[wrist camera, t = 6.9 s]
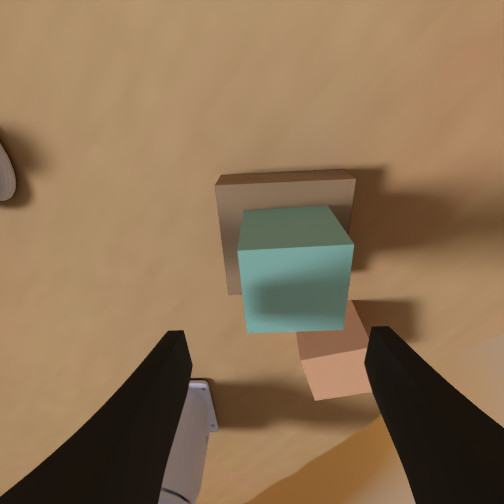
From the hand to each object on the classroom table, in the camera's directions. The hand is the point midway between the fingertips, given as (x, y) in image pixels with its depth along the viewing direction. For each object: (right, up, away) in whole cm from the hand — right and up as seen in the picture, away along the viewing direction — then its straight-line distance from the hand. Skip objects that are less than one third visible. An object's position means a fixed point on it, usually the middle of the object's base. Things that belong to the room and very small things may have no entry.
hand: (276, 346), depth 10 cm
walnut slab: (+1, +6, +9) cm, 11 cm away
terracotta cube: (+6, -3, +13) cm, 15 cm away
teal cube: (+1, +4, +7) cm, 8 cm away
